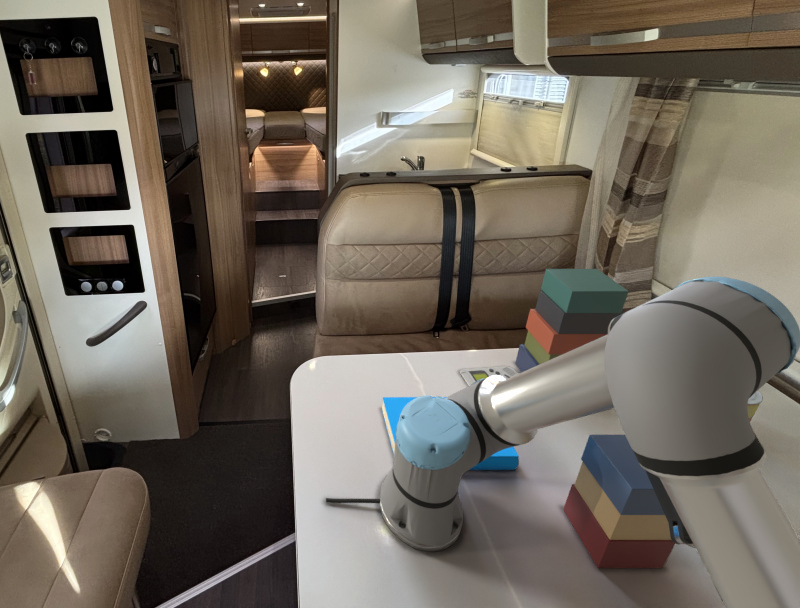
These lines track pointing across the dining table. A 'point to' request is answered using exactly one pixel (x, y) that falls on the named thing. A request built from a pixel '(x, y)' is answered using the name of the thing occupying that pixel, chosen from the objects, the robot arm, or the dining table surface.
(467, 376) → the handheld gaming device
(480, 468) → the book
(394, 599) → the dining table surface
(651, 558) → the low stack
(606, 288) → the book stack
